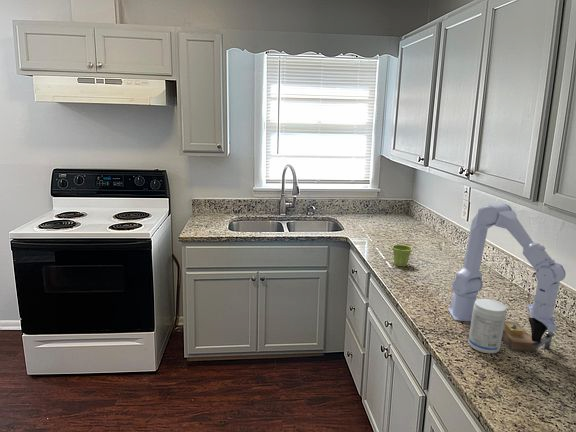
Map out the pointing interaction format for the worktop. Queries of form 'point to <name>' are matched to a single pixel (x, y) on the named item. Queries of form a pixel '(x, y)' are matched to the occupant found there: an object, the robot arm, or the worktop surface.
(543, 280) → the robot arm
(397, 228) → the worktop surface
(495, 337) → the supplement tub
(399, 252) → the plant pot
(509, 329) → the yellow rectangular block
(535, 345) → the lever
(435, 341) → the worktop surface
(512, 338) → the body
